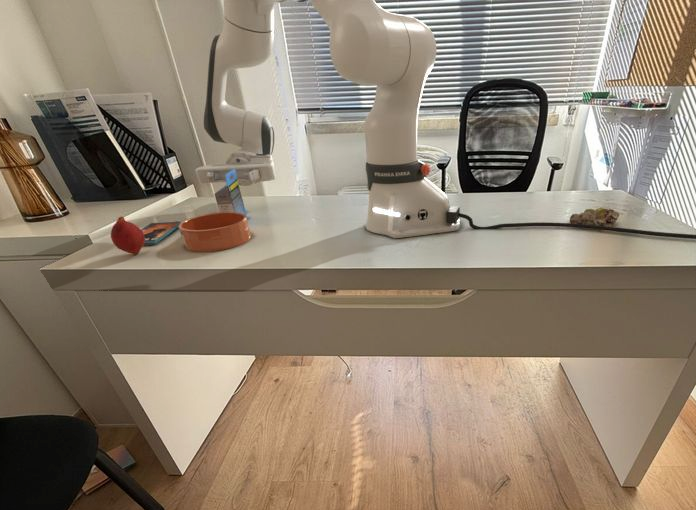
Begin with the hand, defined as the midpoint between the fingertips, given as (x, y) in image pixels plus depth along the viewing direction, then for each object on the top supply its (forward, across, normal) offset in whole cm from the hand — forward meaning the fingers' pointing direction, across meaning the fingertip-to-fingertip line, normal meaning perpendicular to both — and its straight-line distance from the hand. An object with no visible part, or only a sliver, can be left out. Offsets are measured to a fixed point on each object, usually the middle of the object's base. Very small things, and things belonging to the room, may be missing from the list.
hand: (229, 178), depth 98 cm
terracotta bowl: (+18, 0, +10) cm, 21 cm away
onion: (+24, -16, +10) cm, 31 cm away
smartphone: (+11, -18, +10) cm, 23 cm away
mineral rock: (+22, +86, +10) cm, 89 cm away
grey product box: (+4, 0, +10) cm, 11 cm away
